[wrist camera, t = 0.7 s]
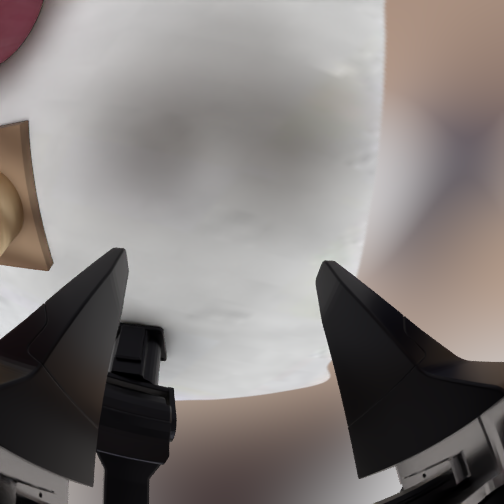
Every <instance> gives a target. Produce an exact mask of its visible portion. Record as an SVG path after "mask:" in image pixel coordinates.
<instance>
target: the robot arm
mask: <svg viewBox="0 0 504 504" xmlns="http://www.w3.org/2000/svg"><path fill="white" fill-rule="evenodd" d="M128 273H129V268H128V261H127V254H126V250H125V249H124V248H112V249H111V250H110V251H108V252H107V253H106V254H104V255H103V256H102V257H100V258H99V259H98V260H96V261H95V262H94V263H92V264H91V265H90V266H89V267H87V268H86V269H85V270H84V271H82V272H81V273H80V274H79V275H77V276H76V277H75V278H74V279H72V280H71V281H70V282H69V283H67V284H66V285H65V286H64V287H63V288H61V289H60V290H59V291H58V292H57V293H55V294H54V295H53V296H52V297H51V298H50V299H48V300H47V301H46V302H45V304H43V305H41V306H40V307H39V308H38V309H37V310H36V311H35V312H33V313H32V314H31V315H30V316H29V317H28V318H26V319H25V320H24V321H23V322H21V323H20V324H19V325H18V326H17V327H15V328H14V329H13V330H12V331H10V332H9V333H8V334H6V335H5V336H4V337H3V338H1V339H0V504H68V487H69V480H70V481H73V482H76V483H79V484H83V485H87V486H90V487H93V483H94V467H95V454H96V453H97V455H98V457H99V459H100V461H101V463H102V465H103V467H104V478H103V504H149V479H150V477H151V476H152V475H153V474H154V473H155V471H156V470H157V469H158V468H159V466H160V465H163V464H164V463H165V462H166V460H167V459H168V457H169V442H172V440H173V439H174V436H175V432H176V421H177V420H176V409H175V398H174V388H171V387H168V388H167V387H163V386H159V385H158V378H159V367H160V361H166V359H167V355H166V348H165V340H164V332H163V329H162V328H159V327H149V326H139V325H129V324H120V319H121V314H122V309H123V303H124V296H125V290H126V285H127V279H128ZM316 289H317V295H318V301H319V307H320V314H321V319H322V324H323V328H324V331H325V335H326V339H327V342H328V346H329V350H330V354H331V358H332V361H333V365H334V369H335V373H336V377H337V381H338V385H339V389H340V393H341V398H342V402H343V407H344V411H345V415H346V420H347V424H348V426H349V427H348V430H349V434H350V439H351V444H352V448H353V453H354V459H355V463H356V468H357V474H358V478H359V479H361V478H364V477H367V476H370V475H373V474H376V473H378V472H381V471H384V470H387V469H389V468H391V467H394V466H395V467H396V470H397V474H398V477H399V480H400V484H402V485H403V487H402V489H401V491H400V493H397V494H395V495H393V496H391V497H388V498H386V499H384V500H381V501H379V502H376V503H374V504H504V362H479V361H467V360H464V359H461V358H459V357H457V356H456V355H454V354H453V353H452V352H450V351H449V350H448V349H446V348H445V347H444V346H442V345H441V344H440V343H438V342H437V341H436V340H434V339H433V338H432V337H430V336H429V335H428V334H426V333H425V332H423V331H422V330H421V329H420V328H418V327H417V326H416V325H415V324H413V323H412V322H411V321H410V320H408V319H407V318H406V317H403V315H402V314H401V313H400V312H399V311H397V310H396V309H395V308H394V307H393V306H391V305H390V304H389V303H387V302H386V301H385V300H384V299H383V298H381V297H380V296H379V295H378V294H376V293H375V292H374V291H372V290H371V289H370V288H368V287H367V286H366V285H365V284H364V283H362V282H361V281H360V280H359V279H357V278H356V277H355V276H353V275H352V274H351V273H350V272H348V271H347V270H346V269H344V268H343V267H342V266H340V265H339V264H338V263H336V262H335V261H326V260H325V261H323V262H322V264H321V267H320V269H319V272H318V275H317V277H316Z"/></svg>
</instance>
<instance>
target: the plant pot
mask: <svg viewBox="0 0 504 504" xmlns="http://www.w3.org/2000/svg"><path fill="white" fill-rule="evenodd" d="M42 3H43V0H0V64H1V63H2V62H4V61H5V60H7V59H8V58H9V57H10V56H11V55H12V54H13V53H14V52H15V51H16V50H17V49H18V48H19V47H20V46H21V44H22V43H23V42H24V40H25V39H26V37H27V36H28V34H29V33H30V31H31V29H32V27H33V26H34V24H35V22H36V19H37V17H38V15H39V12H40V9H41V6H42Z"/></svg>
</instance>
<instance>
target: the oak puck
mask: <svg viewBox="0 0 504 504" xmlns="http://www.w3.org/2000/svg"><path fill="white" fill-rule="evenodd" d="M23 221H24V213H23V206H22V202H21V199H20V196H19V194H18V192H17V190H16V188H15V187H14V185H13V184H12V182H11V181H10V180H9V179H8V178H7V177H6V176H5V175H4V174H2V173H1V172H0V256H1V255H2V254H3V253H4V251H5V250H6V249H7V247H8V246H9V245H10V244H11V242H12V241H13V240H14V239H15V237H16V236H17V235H18V234H19V232H20V231H21V229H22V226H23Z"/></svg>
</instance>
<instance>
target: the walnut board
mask: <svg viewBox="0 0 504 504" xmlns="http://www.w3.org/2000/svg"><path fill="white" fill-rule="evenodd" d="M0 172H1V173H2V174H4V175H5V176H6V177H7V178H8V179H9V180H10V181H11V182H12V184H13V185H14V187H15V188H16V190H17V192H18V194H19V196H20V199H21V202H22V206H23V213H24V221H23V226H22V229H21V231H20V232H19V234H18V235H17V236H16V237H15V239H14V240H13V241H12V242H11V244H10V245H9V246H8V247H7V249H6V250H5V251H4V253H3V254H2V255H1V256H0V265H6V266H13V267H20V268H27V269H35V270H43V271H49V270H50V268H51V266H52V265H53V261H52V258H51V254H50V251H49V247H48V244H47V240H46V236H45V232H44V228H43V224H42V220H41V215H40V211H39V206H38V201H37V195H36V190H35V184H34V177H33V170H32V162H31V153H30V142H29V127H28V121H23V122H17V123H12V124H8V125H3V126H0Z"/></svg>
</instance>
